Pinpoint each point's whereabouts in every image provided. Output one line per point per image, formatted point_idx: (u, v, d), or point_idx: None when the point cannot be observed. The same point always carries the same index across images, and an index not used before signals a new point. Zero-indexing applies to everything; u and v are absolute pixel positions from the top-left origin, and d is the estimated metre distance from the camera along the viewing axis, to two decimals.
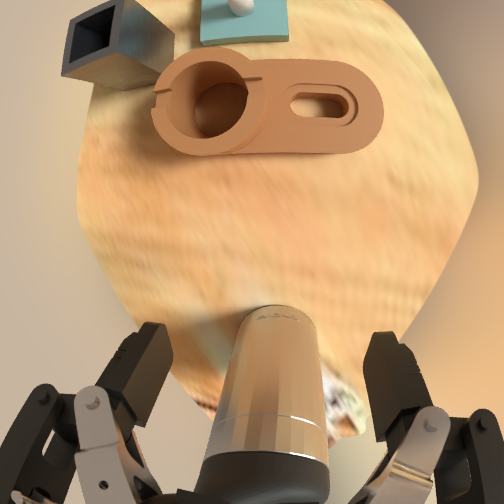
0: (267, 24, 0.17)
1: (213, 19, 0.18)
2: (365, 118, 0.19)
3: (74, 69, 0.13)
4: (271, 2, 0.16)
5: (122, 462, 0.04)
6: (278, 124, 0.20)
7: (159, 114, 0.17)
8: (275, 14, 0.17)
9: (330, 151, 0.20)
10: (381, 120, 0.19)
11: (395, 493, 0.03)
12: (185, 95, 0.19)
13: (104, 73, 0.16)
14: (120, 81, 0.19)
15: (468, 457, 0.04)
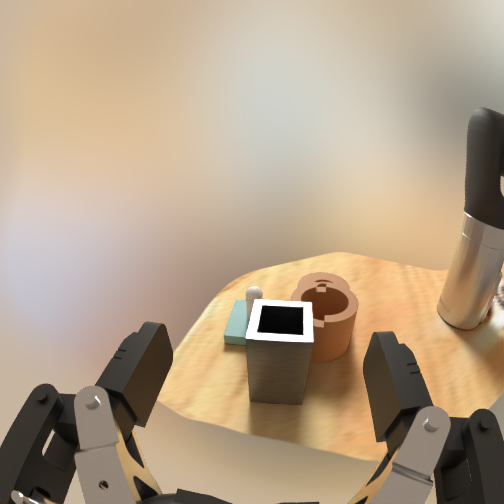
0: None
1: None
2: (330, 278, 0.44)
3: (312, 330, 0.22)
4: None
5: (122, 462, 0.04)
6: None
7: (329, 318, 0.28)
8: None
9: (348, 290, 0.40)
10: None
11: (395, 493, 0.03)
12: None
13: None
14: None
15: (468, 457, 0.04)
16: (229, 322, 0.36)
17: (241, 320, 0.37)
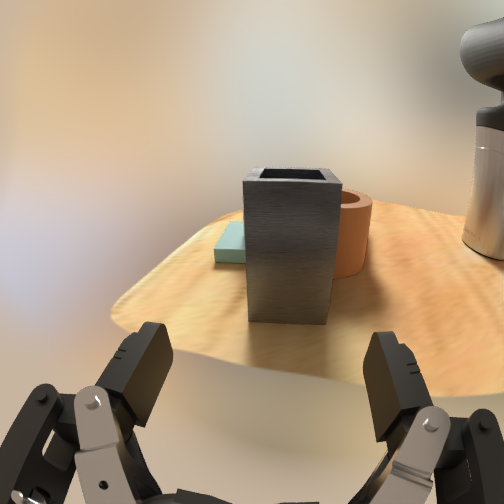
0: None
1: None
2: None
3: (337, 179, 0.16)
4: None
5: (122, 462, 0.04)
6: None
7: None
8: None
9: None
10: None
11: (395, 493, 0.03)
12: None
13: None
14: None
15: (468, 457, 0.04)
16: (221, 238, 0.29)
17: (237, 236, 0.30)
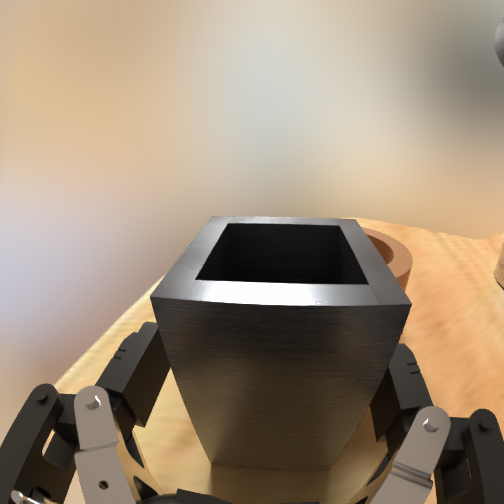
0: None
1: None
2: None
3: None
4: None
5: (122, 462, 0.04)
6: None
7: None
8: None
9: None
10: None
11: (395, 493, 0.03)
12: None
13: None
14: None
15: (468, 457, 0.04)
16: None
17: None
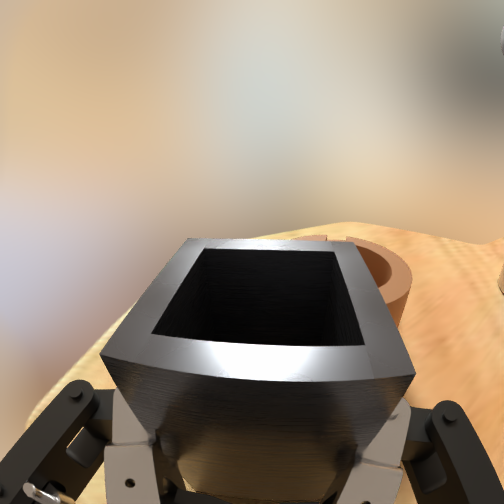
0: None
1: None
2: None
3: (391, 322, 0.05)
4: None
5: (155, 463, 0.04)
6: None
7: None
8: None
9: None
10: None
11: (363, 486, 0.03)
12: None
13: None
14: None
15: (437, 451, 0.04)
16: None
17: None
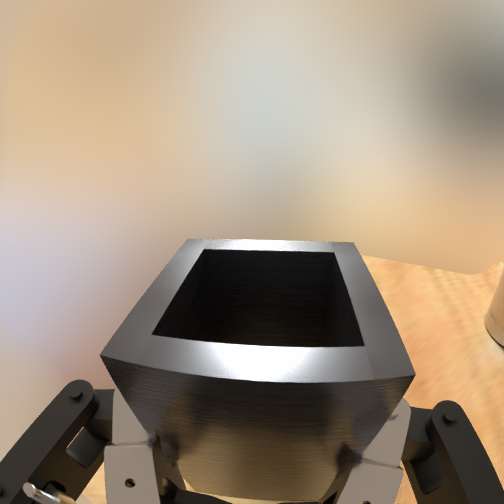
0: None
1: None
2: None
3: (390, 323, 0.05)
4: None
5: (155, 463, 0.04)
6: None
7: None
8: None
9: None
10: None
11: (363, 486, 0.03)
12: None
13: None
14: None
15: (437, 451, 0.04)
16: None
17: None
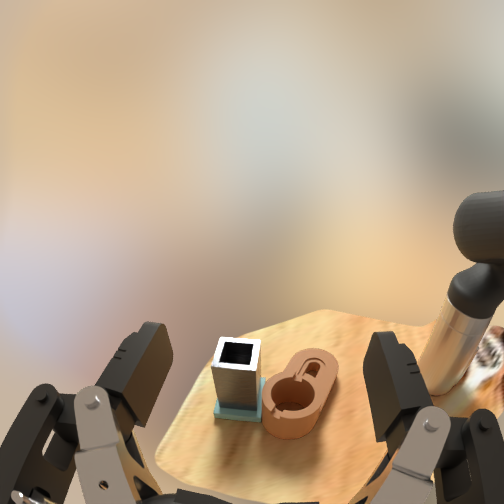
0: None
1: None
2: (324, 357, 0.43)
3: (256, 362, 0.32)
4: None
5: (122, 462, 0.04)
6: None
7: (286, 413, 0.29)
8: None
9: (335, 374, 0.39)
10: (326, 352, 0.44)
11: (395, 493, 0.03)
12: None
13: (258, 373, 0.34)
14: None
15: (468, 457, 0.04)
16: None
17: None
